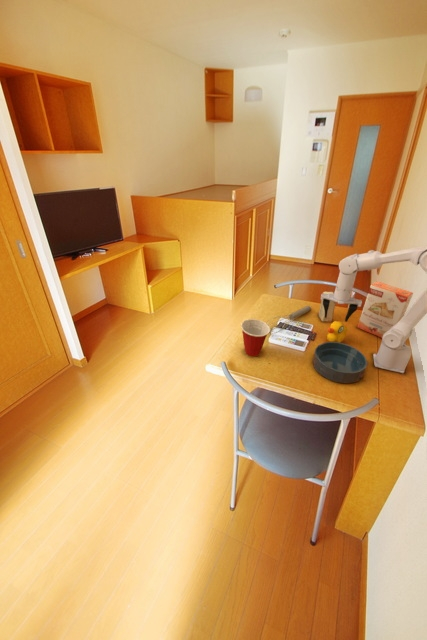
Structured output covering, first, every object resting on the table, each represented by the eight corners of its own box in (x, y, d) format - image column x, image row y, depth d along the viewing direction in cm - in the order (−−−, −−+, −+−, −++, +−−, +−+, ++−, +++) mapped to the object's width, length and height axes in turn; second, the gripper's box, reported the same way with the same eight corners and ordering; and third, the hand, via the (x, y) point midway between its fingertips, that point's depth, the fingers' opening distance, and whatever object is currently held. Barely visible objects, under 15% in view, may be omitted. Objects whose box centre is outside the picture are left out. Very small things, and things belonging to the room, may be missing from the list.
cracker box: (356, 328, 127) (370, 284, 116) (362, 323, 130) (376, 280, 119) (389, 342, 118) (408, 296, 107) (395, 336, 121) (414, 291, 110)
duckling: (330, 350, 113) (335, 329, 108) (319, 343, 117) (324, 322, 112) (348, 341, 118) (354, 320, 113) (337, 334, 122) (342, 314, 117)
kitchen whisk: (316, 311, 139) (318, 299, 136) (273, 339, 119) (274, 326, 116) (305, 306, 143) (307, 295, 139) (261, 333, 123) (262, 320, 120)
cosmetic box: (331, 322, 131) (337, 297, 124) (322, 321, 131) (327, 297, 124) (327, 314, 136) (333, 291, 130) (317, 314, 136) (323, 291, 130)
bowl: (362, 358, 109) (366, 348, 106) (364, 389, 95) (368, 378, 93) (314, 348, 114) (317, 337, 112) (310, 376, 101) (312, 365, 98)
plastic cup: (262, 364, 106) (266, 337, 99) (235, 356, 110) (236, 330, 103) (270, 348, 114) (274, 322, 108) (244, 341, 118) (246, 315, 112)
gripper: (323, 288, 107) (315, 319, 114) (365, 295, 103) (355, 327, 110) (324, 281, 113) (317, 311, 120) (364, 287, 108) (355, 318, 115)
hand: (335, 318), depth 115 cm, fingers open, 7 cm apart
